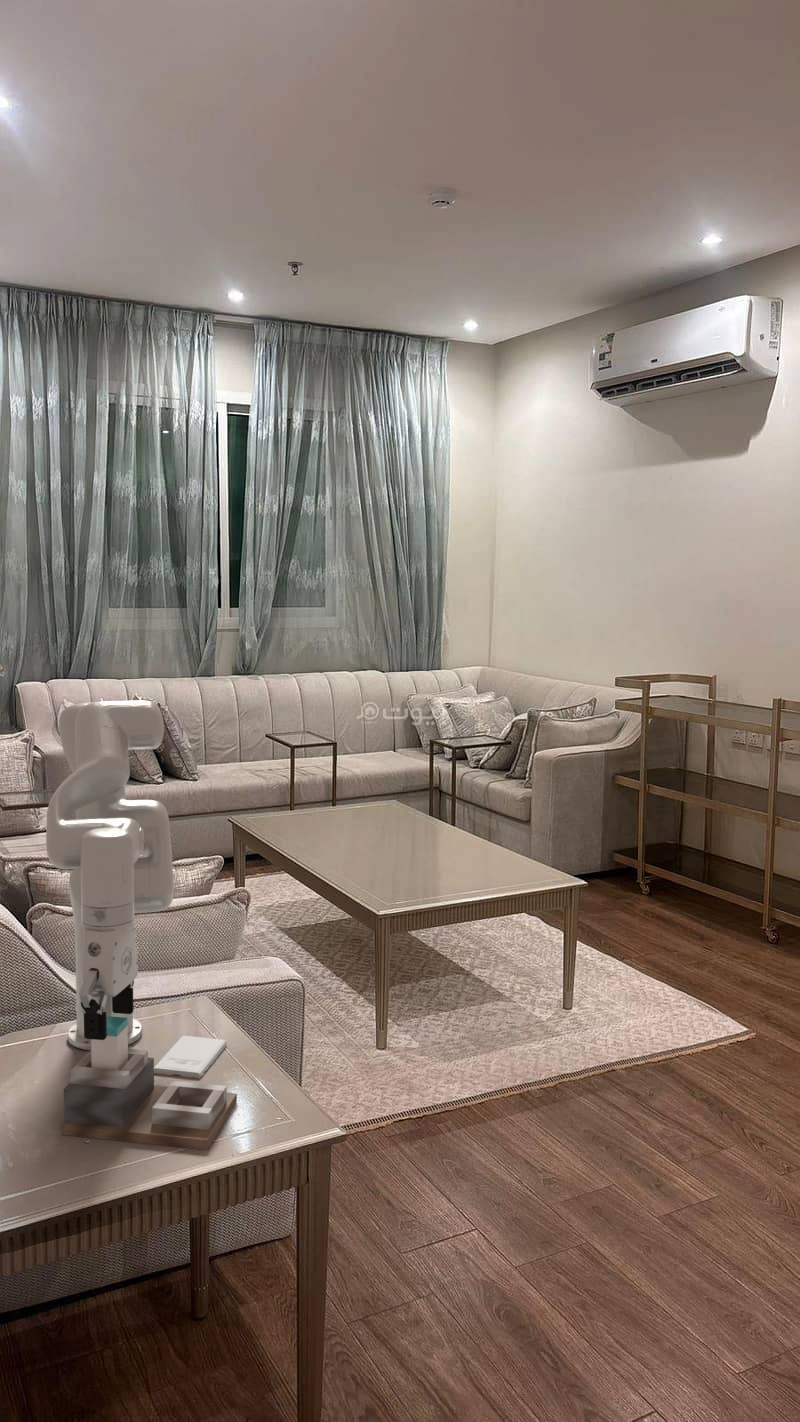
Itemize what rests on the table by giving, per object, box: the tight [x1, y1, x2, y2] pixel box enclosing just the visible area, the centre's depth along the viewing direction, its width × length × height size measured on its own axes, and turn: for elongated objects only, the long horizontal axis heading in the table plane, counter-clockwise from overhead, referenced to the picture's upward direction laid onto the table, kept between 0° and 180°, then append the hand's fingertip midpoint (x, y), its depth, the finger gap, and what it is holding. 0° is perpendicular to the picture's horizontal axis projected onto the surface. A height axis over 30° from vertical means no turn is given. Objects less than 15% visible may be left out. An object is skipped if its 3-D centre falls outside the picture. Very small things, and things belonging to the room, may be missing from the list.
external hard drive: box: [154, 1035, 227, 1079], centre depth 182 cm, size 2×8×12 cm
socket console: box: [60, 1048, 238, 1151], centre depth 162 cm, size 22×14×8 cm, turn 81°
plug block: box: [91, 1016, 129, 1070], centre depth 162 cm, size 4×4×8 cm
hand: (109, 1025), depth 161 cm, fingers open, 9 cm apart
